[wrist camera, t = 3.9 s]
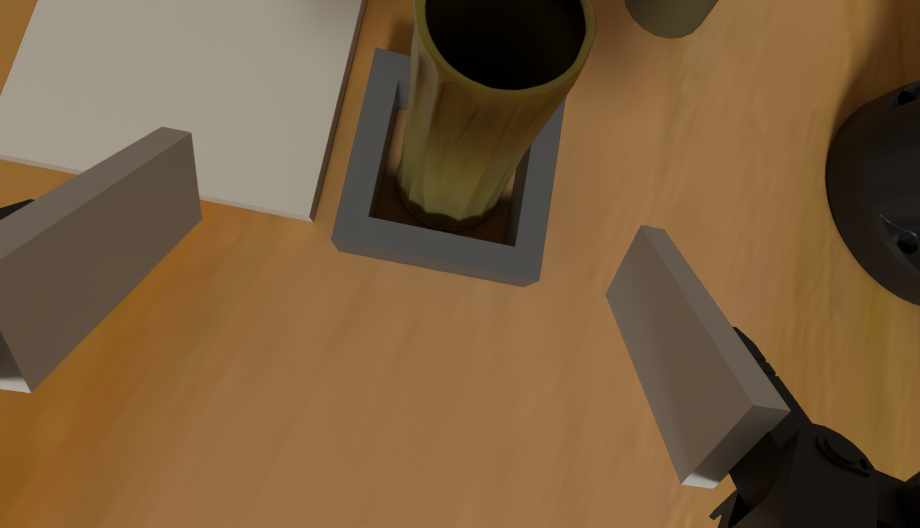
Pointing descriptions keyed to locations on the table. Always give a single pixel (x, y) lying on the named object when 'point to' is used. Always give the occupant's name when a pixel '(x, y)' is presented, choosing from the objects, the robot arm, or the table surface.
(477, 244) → the collar
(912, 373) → the table surface
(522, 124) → the vase
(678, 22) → the olive brown pawn
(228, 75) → the board
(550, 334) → the table surface
